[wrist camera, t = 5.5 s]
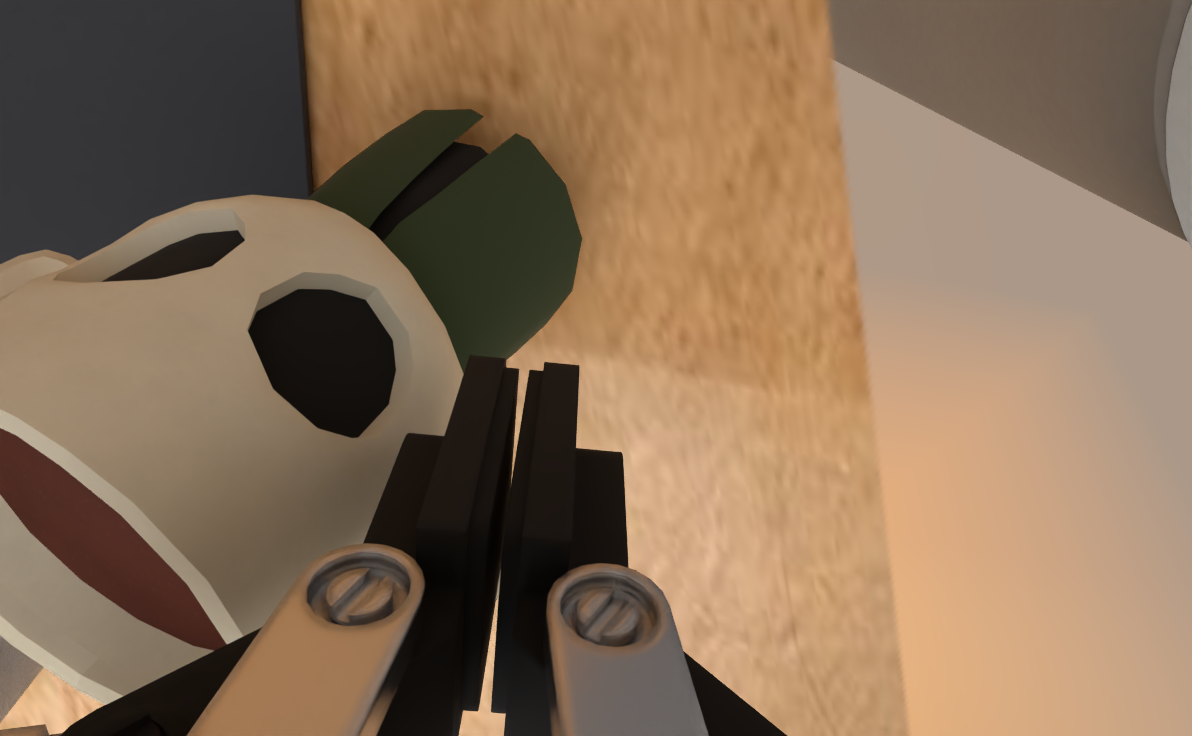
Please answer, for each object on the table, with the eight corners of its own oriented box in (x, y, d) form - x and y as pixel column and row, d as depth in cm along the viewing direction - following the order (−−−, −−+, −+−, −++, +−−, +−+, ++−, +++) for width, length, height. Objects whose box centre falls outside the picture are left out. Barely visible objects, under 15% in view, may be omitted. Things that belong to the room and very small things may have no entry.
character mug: (718, 203, 18) (443, 667, 8) (613, 405, 23) (354, 861, 13) (321, -3, 19) (-386, 189, 9) (297, 233, 23) (-187, 537, 13)
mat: (288, -185, 17) (282, -188, 17) (330, 438, 25) (326, 445, 25) (-174, -247, 17) (-190, -252, 16) (19, 408, 25) (11, 414, 25)
